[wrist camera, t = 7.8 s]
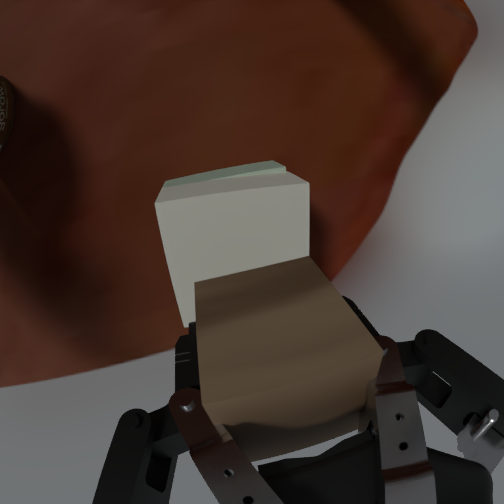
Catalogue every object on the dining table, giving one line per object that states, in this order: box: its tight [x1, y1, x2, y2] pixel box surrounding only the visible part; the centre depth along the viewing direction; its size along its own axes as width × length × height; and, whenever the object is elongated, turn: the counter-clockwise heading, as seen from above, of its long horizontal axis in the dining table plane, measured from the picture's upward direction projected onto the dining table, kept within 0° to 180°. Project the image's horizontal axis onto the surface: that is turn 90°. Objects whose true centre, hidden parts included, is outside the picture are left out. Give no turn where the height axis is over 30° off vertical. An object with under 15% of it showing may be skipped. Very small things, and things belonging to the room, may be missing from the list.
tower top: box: [155, 172, 310, 327], centre depth 19 cm, size 9×9×4 cm
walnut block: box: [194, 256, 384, 462], centre depth 10 cm, size 5×5×6 cm
